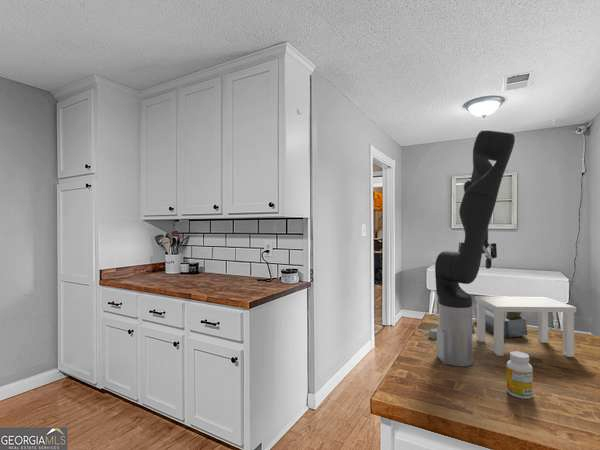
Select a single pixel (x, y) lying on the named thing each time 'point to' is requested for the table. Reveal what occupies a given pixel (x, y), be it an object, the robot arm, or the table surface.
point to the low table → (525, 305)
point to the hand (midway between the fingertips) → (477, 268)
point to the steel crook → (506, 324)
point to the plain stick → (434, 332)
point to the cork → (513, 316)
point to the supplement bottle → (519, 375)
